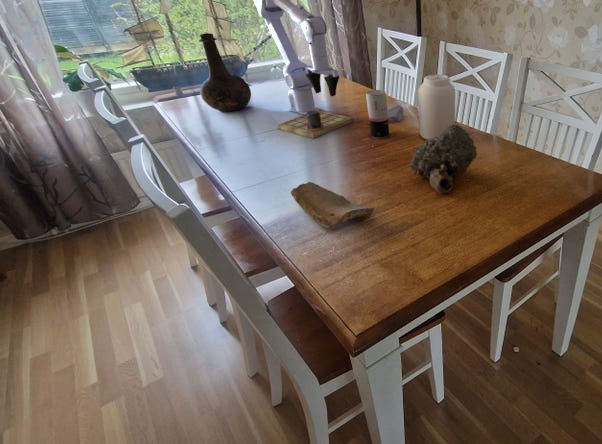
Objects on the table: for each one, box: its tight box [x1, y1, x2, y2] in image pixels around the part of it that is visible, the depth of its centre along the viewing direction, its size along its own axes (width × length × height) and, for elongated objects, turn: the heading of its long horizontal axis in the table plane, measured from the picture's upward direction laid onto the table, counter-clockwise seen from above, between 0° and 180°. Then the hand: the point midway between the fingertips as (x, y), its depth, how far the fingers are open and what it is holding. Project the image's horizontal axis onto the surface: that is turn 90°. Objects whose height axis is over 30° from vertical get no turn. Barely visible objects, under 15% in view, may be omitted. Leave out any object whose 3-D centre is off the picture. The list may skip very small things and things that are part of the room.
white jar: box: [417, 73, 456, 141], centre depth 128 cm, size 12×12×20 cm
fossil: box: [290, 181, 375, 230], centre depth 90 cm, size 22×6×10 cm
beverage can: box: [365, 89, 390, 139], centre depth 128 cm, size 7×7×15 cm
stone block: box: [387, 104, 404, 123], centre depth 147 cm, size 12×5×10 cm
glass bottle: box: [198, 32, 252, 112], centre depth 148 cm, size 18×18×28 cm
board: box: [276, 109, 354, 139], centre depth 140 cm, size 18×20×2 cm
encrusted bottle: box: [408, 124, 478, 195], centre depth 100 cm, size 18×14×15 cm
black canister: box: [305, 111, 322, 128], centre depth 134 cm, size 5×5×5 cm
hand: (325, 94), depth 141 cm, fingers open, 7 cm apart
